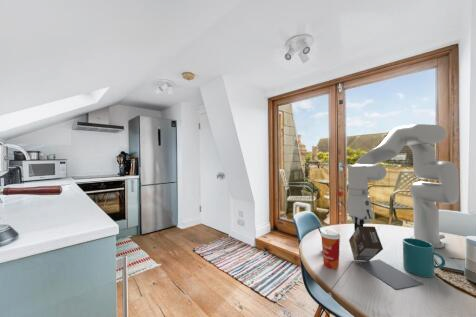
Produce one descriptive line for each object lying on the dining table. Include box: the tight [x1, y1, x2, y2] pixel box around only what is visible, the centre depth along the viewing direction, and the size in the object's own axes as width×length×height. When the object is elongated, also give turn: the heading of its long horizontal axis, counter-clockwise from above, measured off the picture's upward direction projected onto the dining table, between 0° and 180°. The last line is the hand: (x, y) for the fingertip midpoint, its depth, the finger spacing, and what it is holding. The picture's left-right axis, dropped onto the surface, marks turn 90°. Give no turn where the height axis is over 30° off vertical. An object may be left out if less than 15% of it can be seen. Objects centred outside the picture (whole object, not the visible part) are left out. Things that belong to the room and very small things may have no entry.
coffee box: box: [348, 225, 384, 262], centre depth 82 cm, size 9×6×16 cm
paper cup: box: [320, 229, 341, 270], centre depth 82 cm, size 8×8×14 cm
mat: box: [355, 259, 424, 290], centre depth 76 cm, size 12×17×1 cm
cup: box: [402, 237, 446, 278], centre depth 76 cm, size 9×12×11 cm
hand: (358, 232), depth 89 cm, fingers closed
